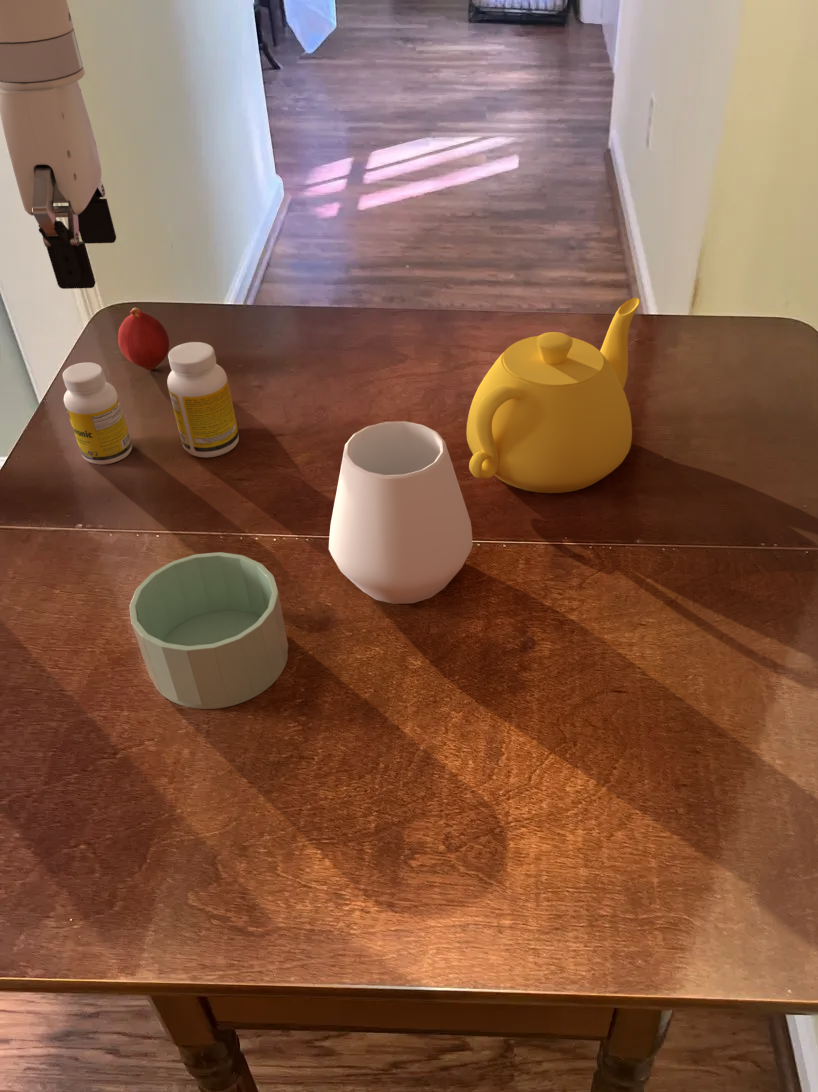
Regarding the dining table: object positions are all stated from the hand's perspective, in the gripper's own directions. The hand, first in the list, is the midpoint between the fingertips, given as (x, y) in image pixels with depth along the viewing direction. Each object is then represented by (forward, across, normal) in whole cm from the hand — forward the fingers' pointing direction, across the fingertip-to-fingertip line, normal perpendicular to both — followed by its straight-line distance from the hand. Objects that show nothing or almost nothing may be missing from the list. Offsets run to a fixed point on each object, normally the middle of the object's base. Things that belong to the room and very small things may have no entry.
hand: (89, 263), depth 92 cm
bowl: (+22, +31, +12) cm, 40 cm away
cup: (+22, +21, +28) cm, 41 cm away
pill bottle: (+22, -2, +7) cm, 23 cm away
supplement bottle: (+22, -1, -4) cm, 22 cm away
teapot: (+22, +2, +45) cm, 50 cm away
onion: (+22, -19, -2) cm, 29 cm away
